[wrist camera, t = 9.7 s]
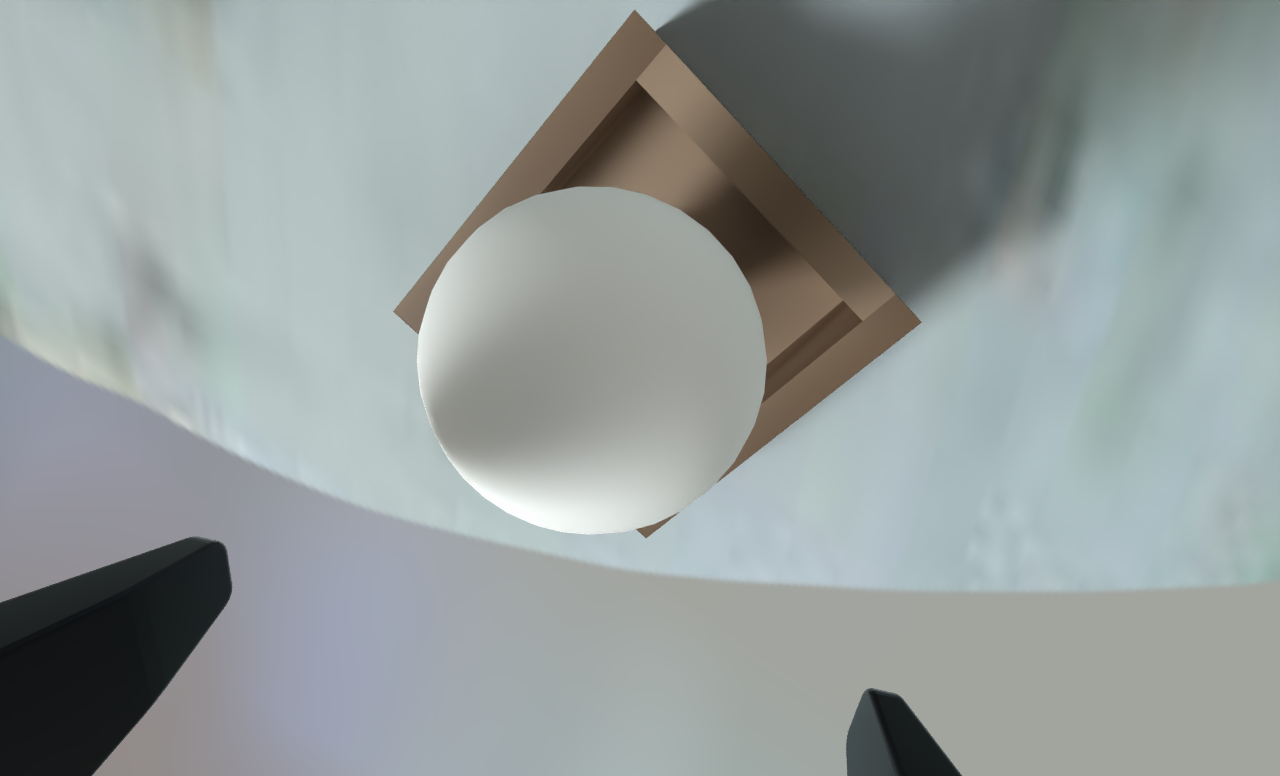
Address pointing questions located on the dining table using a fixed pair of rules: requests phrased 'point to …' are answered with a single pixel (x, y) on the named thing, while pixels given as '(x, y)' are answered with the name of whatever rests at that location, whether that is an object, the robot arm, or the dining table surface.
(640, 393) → the lightbulb
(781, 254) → the brown square tray
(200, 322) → the dining table surface
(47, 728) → the robot arm
